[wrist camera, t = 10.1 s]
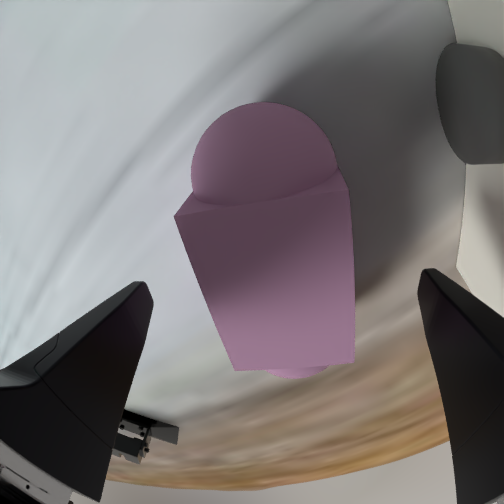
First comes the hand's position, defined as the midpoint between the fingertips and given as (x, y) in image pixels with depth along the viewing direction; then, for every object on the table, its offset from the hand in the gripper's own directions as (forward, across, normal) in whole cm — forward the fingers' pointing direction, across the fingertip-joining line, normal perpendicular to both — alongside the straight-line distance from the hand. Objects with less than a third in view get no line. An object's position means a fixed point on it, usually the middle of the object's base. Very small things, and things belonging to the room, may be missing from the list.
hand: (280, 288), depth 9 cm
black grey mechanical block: (+5, +16, +20) cm, 27 cm away
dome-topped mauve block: (+4, 0, 0) cm, 4 cm away
